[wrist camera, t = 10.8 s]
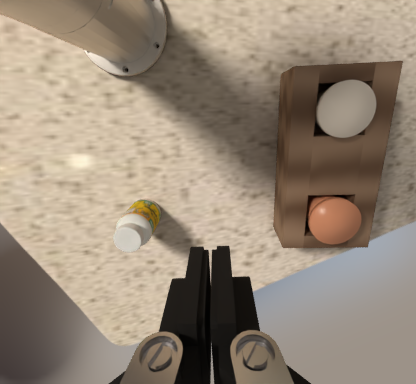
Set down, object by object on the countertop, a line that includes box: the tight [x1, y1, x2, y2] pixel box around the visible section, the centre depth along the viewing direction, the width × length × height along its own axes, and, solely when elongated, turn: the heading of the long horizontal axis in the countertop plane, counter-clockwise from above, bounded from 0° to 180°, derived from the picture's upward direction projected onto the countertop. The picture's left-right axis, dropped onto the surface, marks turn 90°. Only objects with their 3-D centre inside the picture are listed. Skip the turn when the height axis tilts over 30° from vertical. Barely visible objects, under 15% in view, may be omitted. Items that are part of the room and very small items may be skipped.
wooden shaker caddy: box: [273, 61, 403, 248], centre depth 35 cm, size 24×12×7 cm, turn 2°
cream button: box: [315, 80, 376, 138], centre depth 32 cm, size 6×6×6 cm
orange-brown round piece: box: [306, 195, 361, 244], centre depth 35 cm, size 6×6×6 cm
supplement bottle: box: [113, 199, 161, 252], centre depth 39 cm, size 5×5×10 cm
